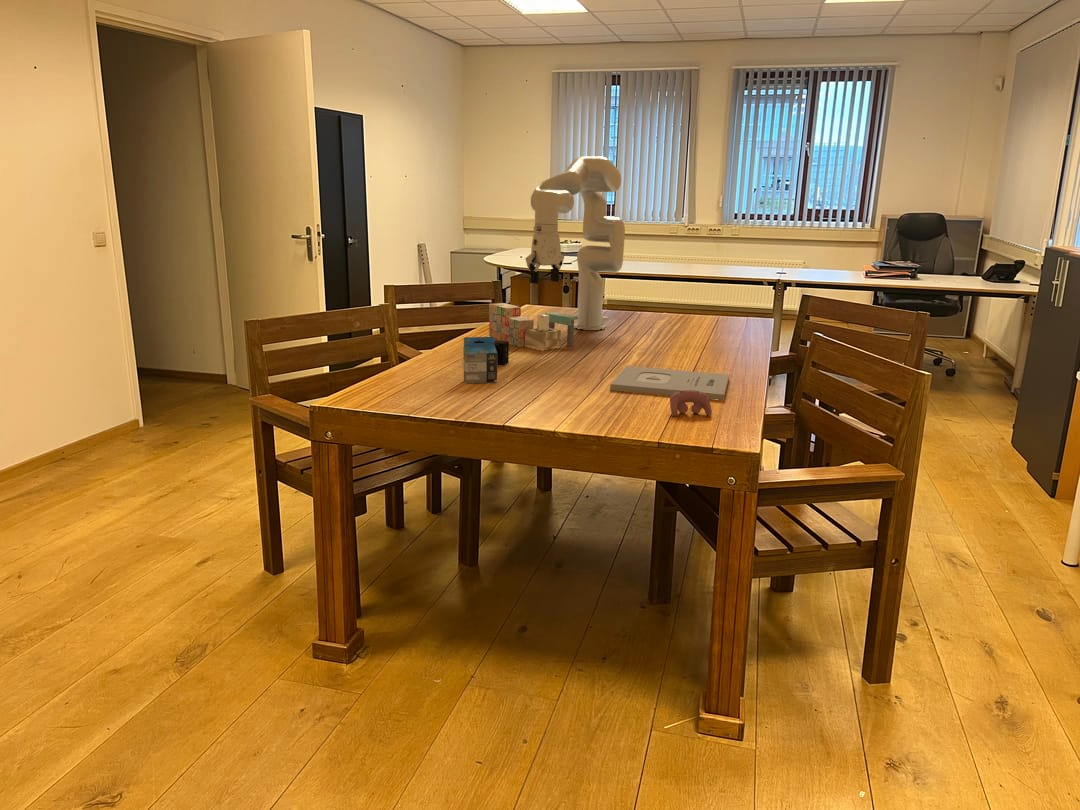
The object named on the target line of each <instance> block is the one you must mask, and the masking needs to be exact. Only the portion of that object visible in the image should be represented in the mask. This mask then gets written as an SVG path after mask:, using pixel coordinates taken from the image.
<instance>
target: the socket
mask: <svg viewBox="0 0 1080 810" xmlns="http://www.w3.org/2000/svg"><path fill="white" fill-rule="evenodd" d="M561 335H562V330H561V329H556V328H555V329H551V328H549V331H547V332H540V331H537V327H536V328H533V329H527V330H525V347H524V348H526V347H527V348H526V349H530V348H532V350H535V349H536V351H539V350H541V352H545V351H550V350H549V349H551V350H556V349H560V348H561V343H562V342H561V341H562V339H561V338H562V336H561ZM555 348H556V349H555ZM544 350H545V351H544Z"/></svg>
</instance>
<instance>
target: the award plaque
mask: <svg viewBox="0 0 1080 810" xmlns="http://www.w3.org/2000/svg"><path fill="white" fill-rule="evenodd" d="M729 382H730V374H728V373H715V372H705V371H704V372H702V371H691V370H680V369H668V368H656V367H648V366H646V367H645V366H644V367H643V366H634V365H626V366H625V367H624V368H623V369H622V370H621V371H620V372H619V374H618V375H617V376H616V377H615V378H614V379H613V381H612V382H610V385H609V391H612V390H614V392H615V391H616V392H622V391H625V392H624V393H632V392H634V393H635V394H643V393H648V394H647V395H653V394H659V395H658V396H664V395H670V396H669V397H671V396H672V395H673V394H674V393H676V392H679V391H683V390H696V391H699V392H704V393H705V394H706V395H707V396H708V398H709V399H718V400H725V397H724V396H726V393H725V392H727V390H728V389H727V388H728V384H729Z"/></svg>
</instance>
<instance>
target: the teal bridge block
mask: <svg viewBox="0 0 1080 810" xmlns="http://www.w3.org/2000/svg"><path fill="white" fill-rule="evenodd" d="M544 314H545V315H549V328H551V329H556V328H555V327H556V326H555V324H558V325H565V326H567V335H566V346H569V345H572V346H574V331H575V330H574V329H575V328H574V324H575V321H577V320H578V316H577V315H571V314H567V313H566V314H565V313H560V312H554V311H551V312H545V313H544Z"/></svg>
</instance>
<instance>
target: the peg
mask: <svg viewBox="0 0 1080 810" xmlns="http://www.w3.org/2000/svg"><path fill="white" fill-rule="evenodd" d="M536 326H537V327H536V328H537V331H540V332H547V331H549V315H545V313H544V314H543V313H541V314H540V313H539V314H537V323H536Z"/></svg>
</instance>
